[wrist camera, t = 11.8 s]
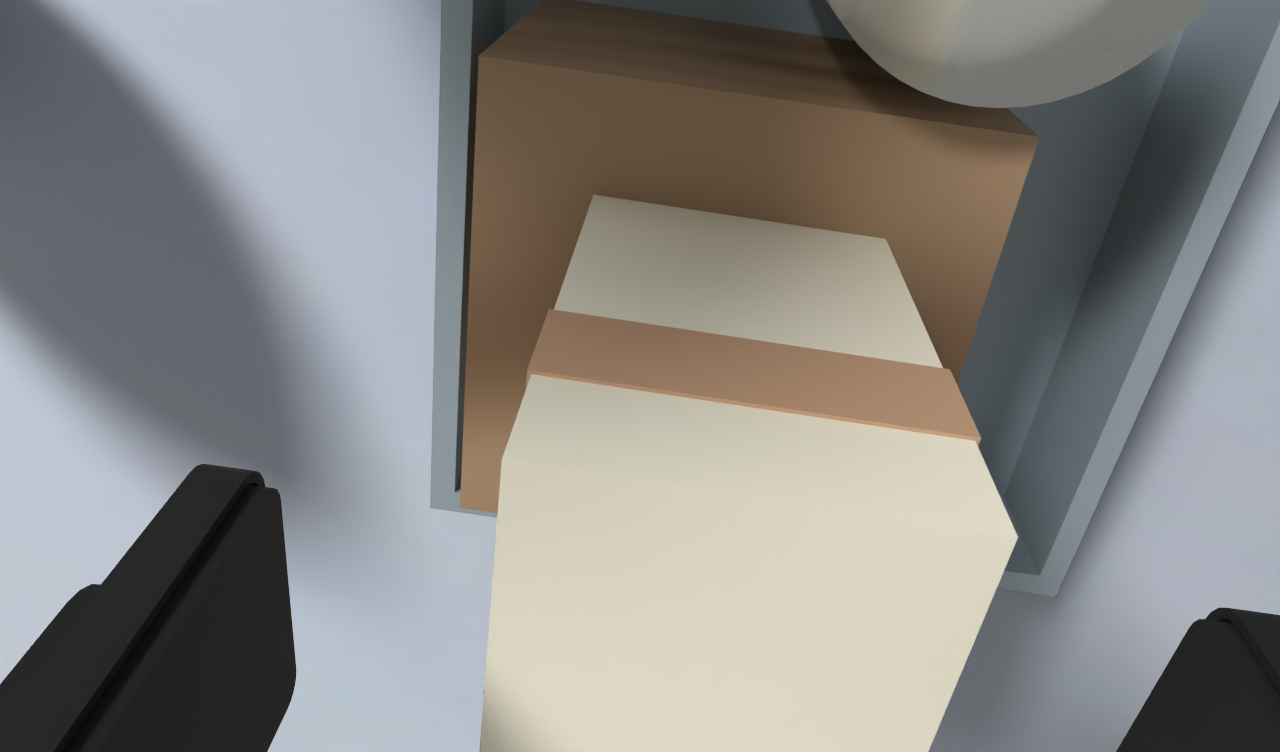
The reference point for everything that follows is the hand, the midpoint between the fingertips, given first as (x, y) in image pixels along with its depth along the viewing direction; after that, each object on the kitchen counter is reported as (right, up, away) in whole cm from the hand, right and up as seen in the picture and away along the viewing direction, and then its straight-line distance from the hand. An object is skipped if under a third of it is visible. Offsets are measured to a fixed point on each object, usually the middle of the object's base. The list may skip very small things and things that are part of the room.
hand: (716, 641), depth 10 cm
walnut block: (+1, +7, +13) cm, 15 cm away
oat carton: (+1, +3, +7) cm, 8 cm away
